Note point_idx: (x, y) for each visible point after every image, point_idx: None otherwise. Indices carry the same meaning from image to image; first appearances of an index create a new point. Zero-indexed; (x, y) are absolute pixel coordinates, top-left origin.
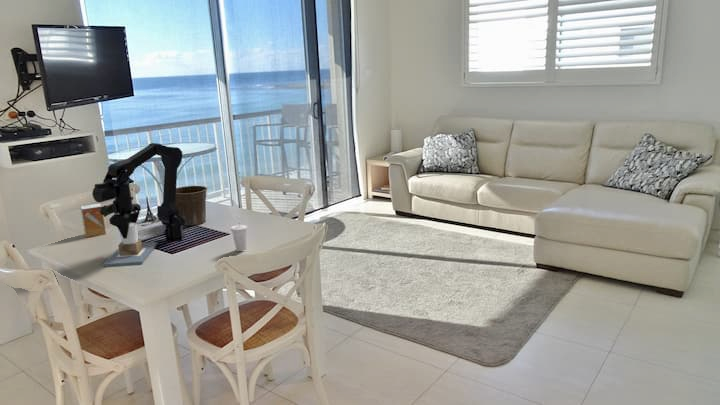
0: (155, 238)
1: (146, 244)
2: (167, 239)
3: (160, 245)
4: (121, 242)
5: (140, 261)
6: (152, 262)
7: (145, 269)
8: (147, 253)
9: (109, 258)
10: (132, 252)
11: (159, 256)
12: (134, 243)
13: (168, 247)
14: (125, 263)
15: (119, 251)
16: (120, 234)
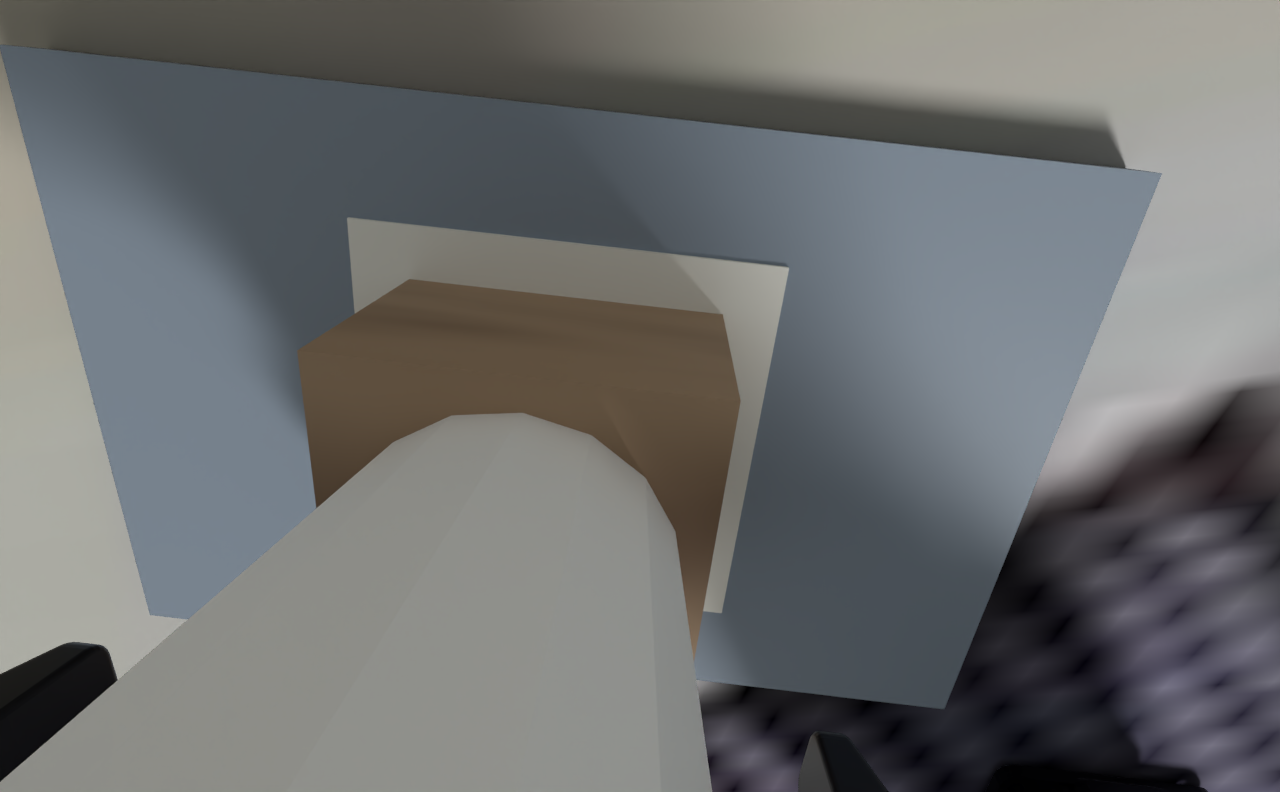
0: (1259, 635)
1: (893, 593)
2: (1030, 790)
3: (858, 711)
4: (498, 388)
5: (149, 599)
6: None
7: (8, 636)
8: None
9: (303, 95)
10: None
11: None
12: None
13: (730, 787)
14: (108, 414)
15: (373, 304)
16: (241, 583)
